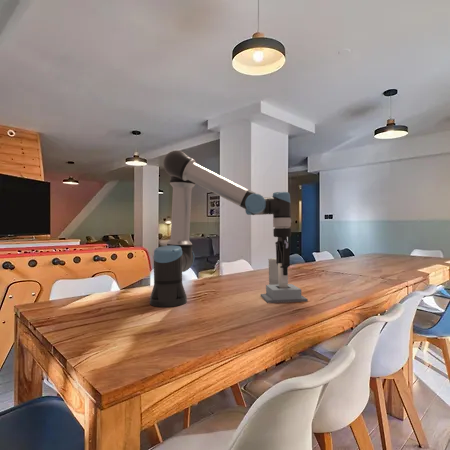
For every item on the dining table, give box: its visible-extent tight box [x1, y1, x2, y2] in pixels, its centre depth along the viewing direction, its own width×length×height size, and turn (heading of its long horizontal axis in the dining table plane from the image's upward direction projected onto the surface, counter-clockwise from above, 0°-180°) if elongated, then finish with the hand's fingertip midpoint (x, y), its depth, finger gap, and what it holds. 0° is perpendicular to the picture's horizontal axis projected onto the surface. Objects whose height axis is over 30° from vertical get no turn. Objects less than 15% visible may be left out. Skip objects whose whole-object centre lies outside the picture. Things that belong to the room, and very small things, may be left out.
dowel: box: [278, 263, 289, 289], centre depth 131 cm, size 4×4×12 cm
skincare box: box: [268, 257, 279, 285], centre depth 149 cm, size 8×7×16 cm
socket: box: [260, 283, 308, 304], centre depth 131 cm, size 17×12×5 cm
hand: (283, 281), depth 131 cm, fingers closed on dowel, 4 cm apart
